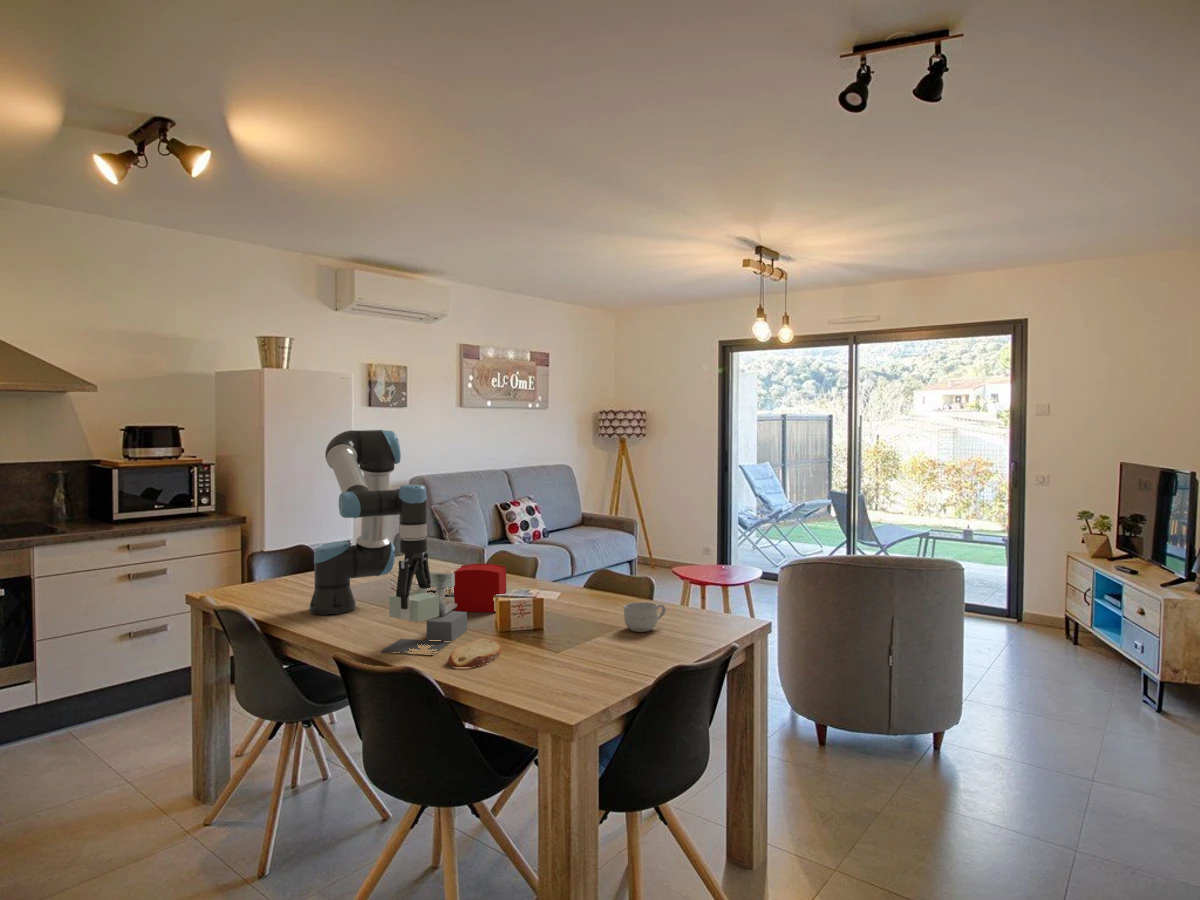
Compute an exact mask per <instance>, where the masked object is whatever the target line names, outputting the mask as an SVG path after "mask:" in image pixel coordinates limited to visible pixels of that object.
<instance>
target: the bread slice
mask: <svg viewBox="0 0 1200 900" xmlns="http://www.w3.org/2000/svg"><path fill="white" fill-rule="evenodd" d="M500 654H502V647H501V644H499V642H497V641H495V640H492V639H489V638H479V639H474V640H473V641H472V640H471V641H469V642H467V643H465V644H463V645H461V646H459V647H457V648H455V649H453V650H452V652H451V653H450V654H449V657H448V659H447V662H448V663H447V664H448V665H449V666H450V665H451V666H453V667H473V666H479V665H483V664H486V663H489V662H491V661H493V660H494V661H496V660H497V659H499V657H500V656H501V655H500ZM499 655H500V656H499ZM496 658H497V659H496ZM495 659H496V660H495ZM494 661H493V662H494ZM491 663H492V662H491ZM489 664H490V663H489ZM451 666H450V667H451Z"/></svg>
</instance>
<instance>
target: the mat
mask: <svg viewBox="0 0 1200 900" xmlns="http://www.w3.org/2000/svg"><path fill="white" fill-rule="evenodd" d="M449 643H450V644H451V642H444V641H429V640H427V639H426V640H425V639H412V638H411V639H410V638H400V639H398V640H396V641H395V642H393V643H392V644H390V645H388V646H387V647H385V648H384V649H382V650H380V653H382V652H397V653H398V652H400V653H407V652H408V651H410V650H409V648H410V649H413V648H414V649H419V650H420V648H418V645H421V644H422V645H424V644H425V645H427V644H428V645H430V646H431V645H433V646H431V647H430V648H428V650H429V649H431V650H432V649H434V650H435V649H437V650H436V651H439V650H440V649H442V648H443V647H444V646H446V645H447V644H449ZM417 644H418V645H417ZM450 644H449V645H450ZM422 645H421V646H422ZM425 645H424V646H425ZM428 645H427V646H428ZM434 645H435V646H434ZM447 646H448V645H447ZM447 646H446V647H447ZM444 648H445V647H444ZM444 648H443V649H444ZM443 649H442V650H443ZM405 651H407V652H405ZM436 651H432V652H436ZM440 651H441V650H440ZM440 651H439V652H440ZM410 652H412V651H410ZM430 652H431V651H430ZM431 654H434V653H431Z"/></svg>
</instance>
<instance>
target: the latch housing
mask: <svg viewBox="0 0 1200 900" xmlns="http://www.w3.org/2000/svg"><path fill="white" fill-rule="evenodd" d="M464 632H465V633H466V632H468V612H465V611H453V610H451V611H450V612H448V613H447V614H445V615H444V616H438V617H435V618H431V619H428V620H426V640H427V639H428V640H441V641H453V640H454V639H455V640H457V639H458V638H459V637H461V636H462V635H464V634H465V633H464ZM461 634H462V635H461ZM460 635H461V636H460ZM457 637H458V638H457ZM456 638H457V639H456ZM455 640H454V641H455ZM454 641H453V642H454Z"/></svg>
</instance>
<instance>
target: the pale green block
mask: <svg viewBox="0 0 1200 900" xmlns="http://www.w3.org/2000/svg"><path fill="white" fill-rule="evenodd" d="M409 597H411V620H408V622H414V623H421V622H424V621H427V620H429V619H431V618H435V617H438V616H439V596H438V595H433V594H428V593H421V592H417V590H416V591H414V590H410V593H409ZM388 602H389V605H388V606H389V608H388V609H389V617H390V618H395V619H400V620H401V597H397V596H396V593H395V594H392V595H389V596H388Z"/></svg>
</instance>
